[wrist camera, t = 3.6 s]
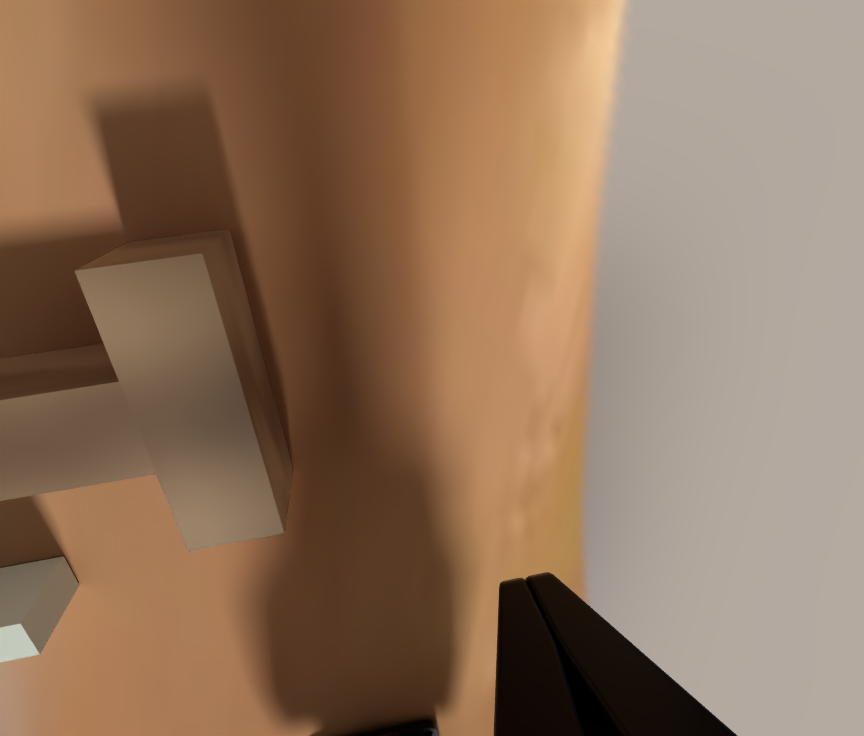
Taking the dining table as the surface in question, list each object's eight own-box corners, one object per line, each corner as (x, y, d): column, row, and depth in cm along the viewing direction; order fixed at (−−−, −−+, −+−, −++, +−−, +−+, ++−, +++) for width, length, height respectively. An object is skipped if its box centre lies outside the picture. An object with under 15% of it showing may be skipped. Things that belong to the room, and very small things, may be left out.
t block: (293, 469, 20) (284, 533, 17) (42, 513, 19) (-17, 590, 16) (229, 228, 16) (202, 253, 13) (-90, 270, 15) (-201, 308, 12)
